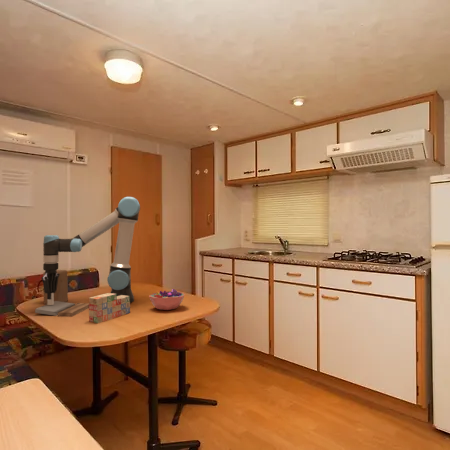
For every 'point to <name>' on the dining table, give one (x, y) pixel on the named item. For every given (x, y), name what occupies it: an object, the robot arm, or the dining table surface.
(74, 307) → the board
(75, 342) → the dining table surface
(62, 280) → the wooden block
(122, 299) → the stack of blocks
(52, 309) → the plank
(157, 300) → the cell model
